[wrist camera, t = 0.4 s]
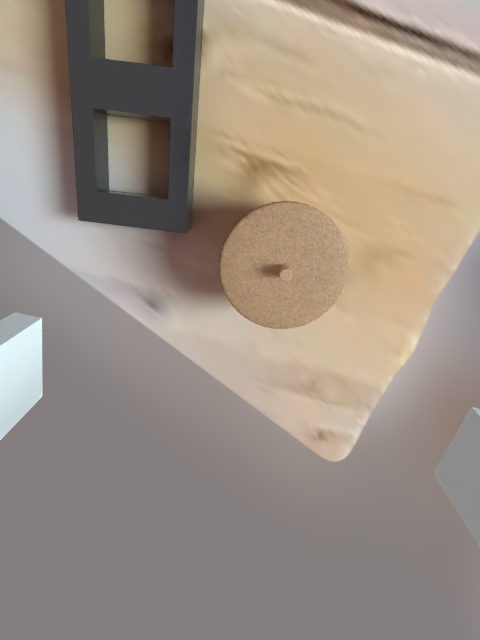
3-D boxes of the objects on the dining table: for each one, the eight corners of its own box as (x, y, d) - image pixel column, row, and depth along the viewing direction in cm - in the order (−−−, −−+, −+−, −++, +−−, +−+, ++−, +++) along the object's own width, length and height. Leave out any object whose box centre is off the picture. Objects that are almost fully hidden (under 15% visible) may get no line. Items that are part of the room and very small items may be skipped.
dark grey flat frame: (78, -78, 26) (58, -108, 24) (207, -61, 27) (202, -89, 24) (92, 217, 35) (78, 220, 32) (191, 229, 35) (185, 233, 32)
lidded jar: (318, 306, 38) (338, 344, 29) (220, 295, 37) (211, 329, 29) (340, 204, 34) (371, 212, 25) (231, 190, 33) (224, 194, 25)
